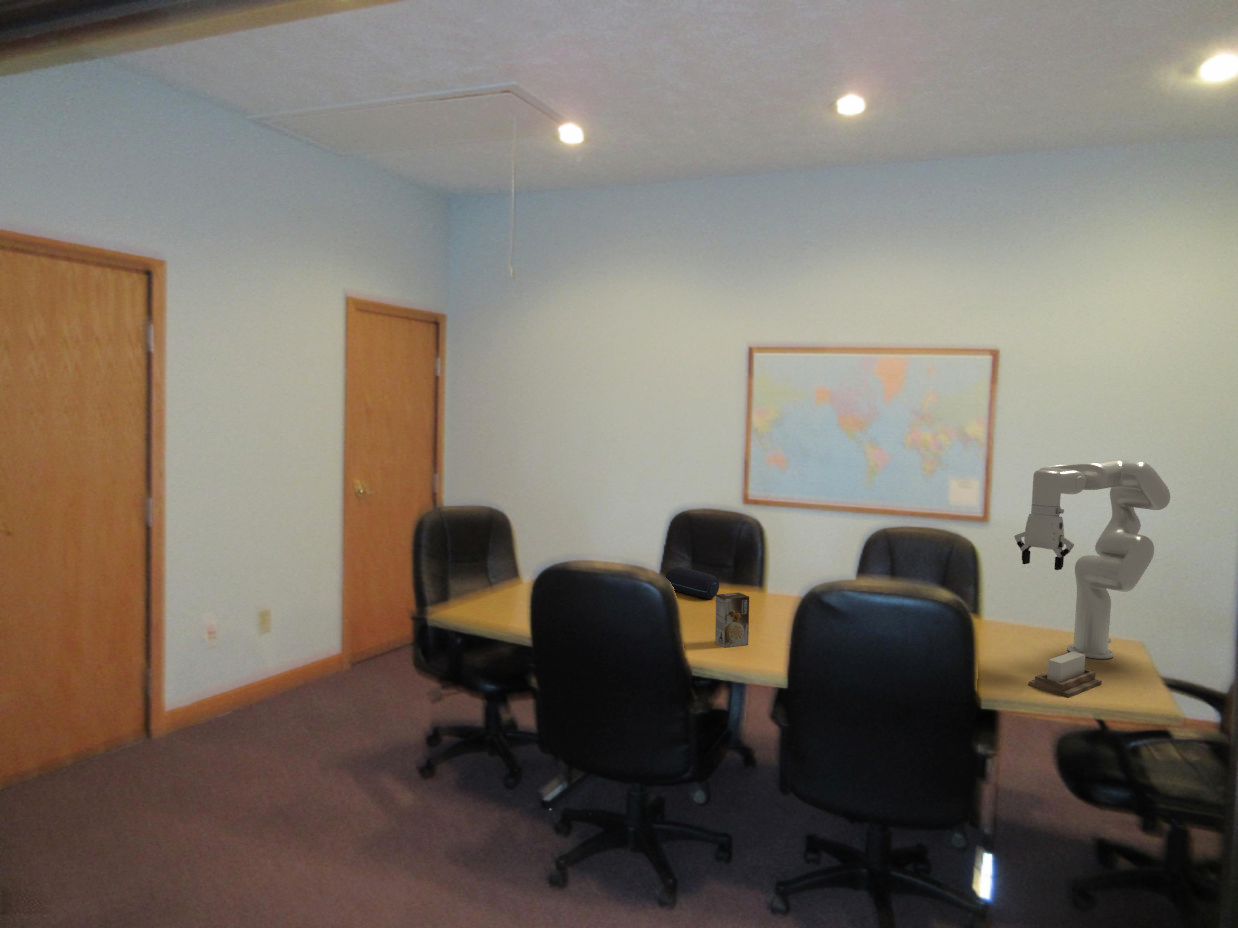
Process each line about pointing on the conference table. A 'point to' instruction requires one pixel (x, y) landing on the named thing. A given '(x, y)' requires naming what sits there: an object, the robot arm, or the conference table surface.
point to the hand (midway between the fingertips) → (1041, 566)
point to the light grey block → (1066, 667)
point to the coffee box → (732, 619)
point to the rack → (1067, 684)
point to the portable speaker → (693, 582)
